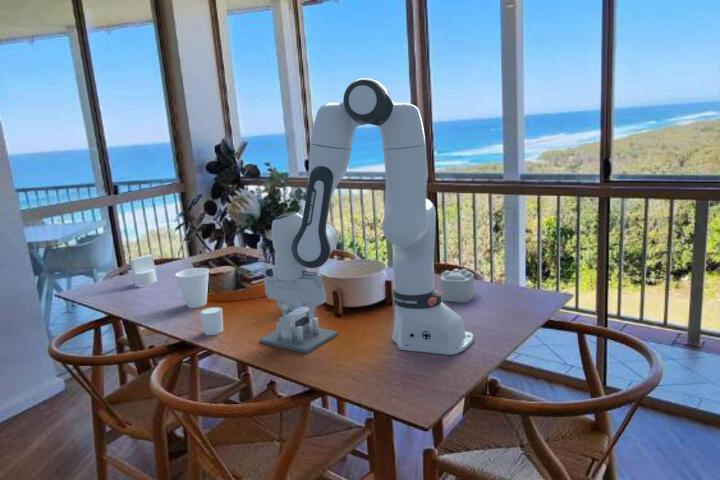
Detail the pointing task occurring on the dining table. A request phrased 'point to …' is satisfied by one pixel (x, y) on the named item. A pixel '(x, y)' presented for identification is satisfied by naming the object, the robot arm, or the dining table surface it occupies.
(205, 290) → the cup
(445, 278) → the bowl of white balls
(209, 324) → the white short cylinder
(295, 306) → the medicine box
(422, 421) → the dining table surface
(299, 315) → the drive
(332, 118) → the robot arm
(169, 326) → the dining table surface
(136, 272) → the base with upright slab
